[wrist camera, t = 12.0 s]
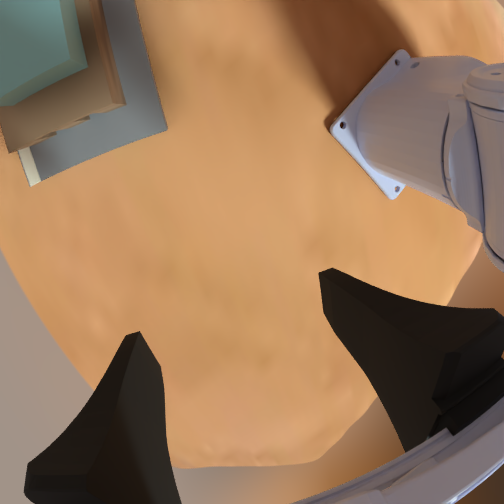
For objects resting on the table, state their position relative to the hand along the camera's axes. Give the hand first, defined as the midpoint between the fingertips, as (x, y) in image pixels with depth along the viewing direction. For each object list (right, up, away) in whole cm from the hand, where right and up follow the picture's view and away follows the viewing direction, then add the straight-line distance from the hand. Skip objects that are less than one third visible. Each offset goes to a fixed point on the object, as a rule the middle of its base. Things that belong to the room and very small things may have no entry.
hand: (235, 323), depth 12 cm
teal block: (-9, +12, -3) cm, 15 cm away
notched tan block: (-10, +14, 0) cm, 17 cm away
